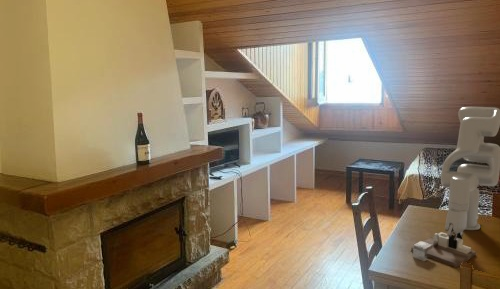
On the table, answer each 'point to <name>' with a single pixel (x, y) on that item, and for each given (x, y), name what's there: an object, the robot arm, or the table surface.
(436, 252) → the board
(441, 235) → the link
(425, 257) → the block
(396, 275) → the table surface
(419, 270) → the table surface
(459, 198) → the robot arm
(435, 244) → the cylinder
